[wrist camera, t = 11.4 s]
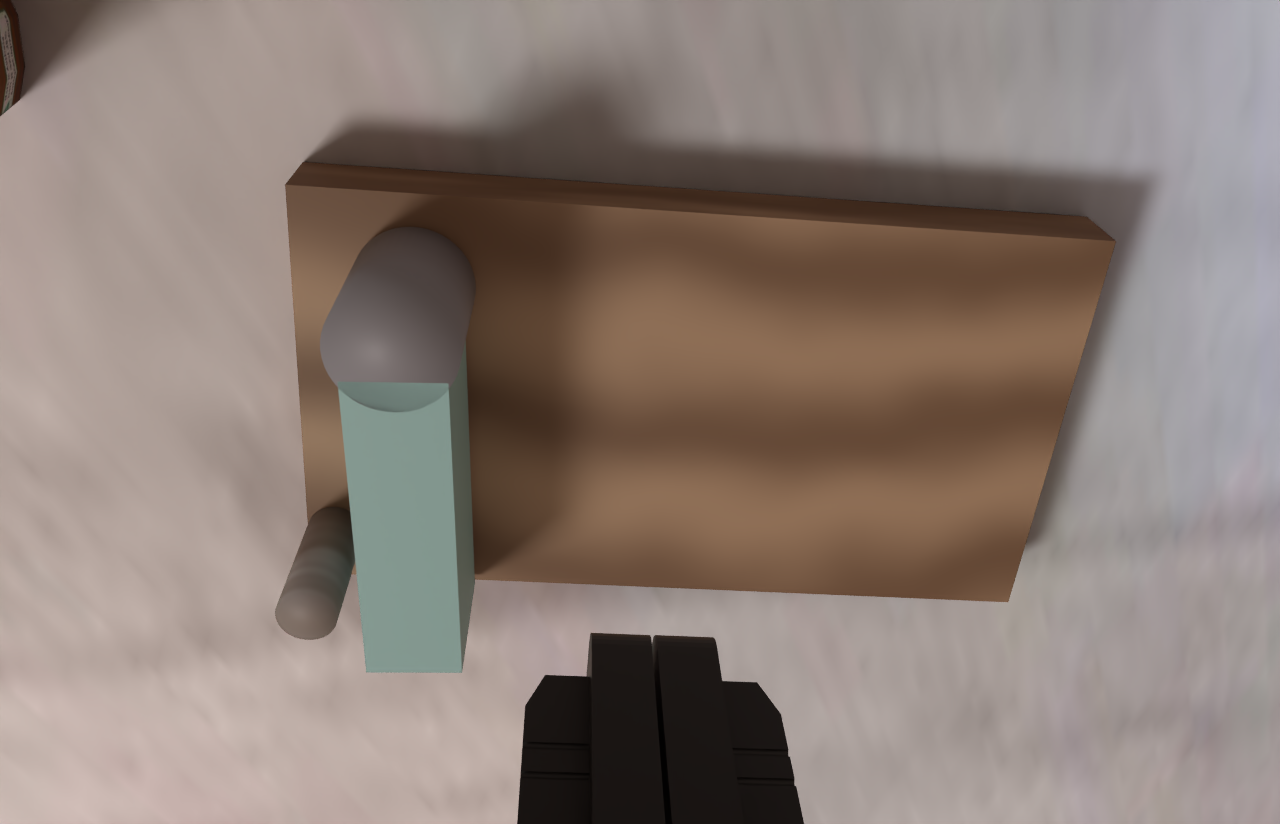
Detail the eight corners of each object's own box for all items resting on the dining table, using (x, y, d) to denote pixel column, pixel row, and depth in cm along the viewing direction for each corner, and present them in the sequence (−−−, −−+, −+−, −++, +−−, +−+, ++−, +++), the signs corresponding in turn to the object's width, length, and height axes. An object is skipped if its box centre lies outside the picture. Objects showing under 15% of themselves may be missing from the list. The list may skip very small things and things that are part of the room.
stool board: (302, 161, 38) (242, 239, 31) (1086, 216, 40) (1186, 300, 33) (324, 534, 45) (279, 662, 38) (988, 564, 47) (1054, 690, 40)
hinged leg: (346, 225, 36) (313, 285, 31) (473, 228, 36) (458, 288, 32) (378, 581, 42) (354, 672, 38) (485, 582, 43) (473, 672, 38)
